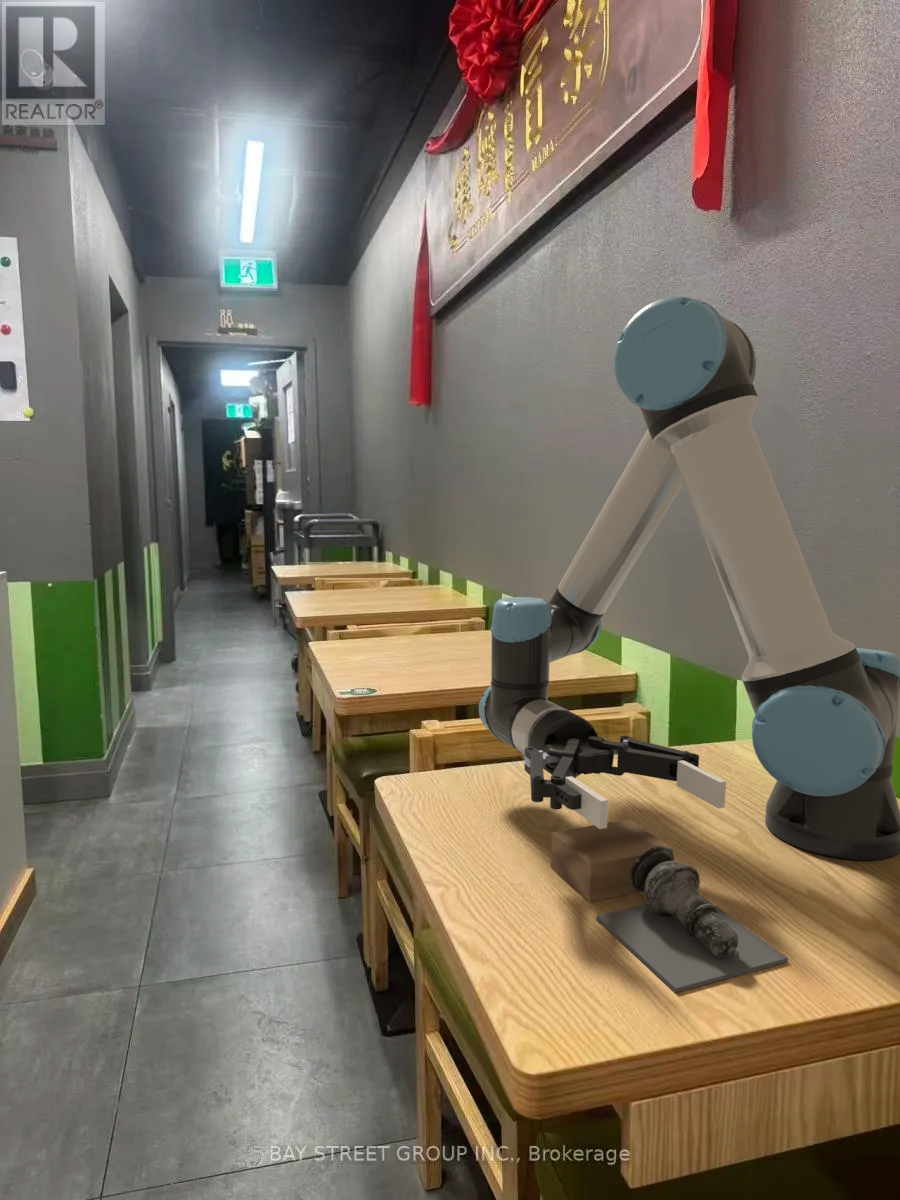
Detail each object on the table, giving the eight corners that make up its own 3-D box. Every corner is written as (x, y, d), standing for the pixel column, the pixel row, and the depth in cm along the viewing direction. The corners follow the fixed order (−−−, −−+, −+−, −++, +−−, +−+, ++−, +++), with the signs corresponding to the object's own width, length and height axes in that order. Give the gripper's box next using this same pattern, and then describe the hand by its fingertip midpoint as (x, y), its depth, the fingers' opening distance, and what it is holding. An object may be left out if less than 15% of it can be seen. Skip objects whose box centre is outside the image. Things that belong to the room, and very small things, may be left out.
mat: (697, 896, 80) (697, 893, 80) (787, 962, 69) (787, 957, 69) (596, 919, 76) (596, 915, 76) (675, 992, 65) (675, 988, 65)
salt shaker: (659, 833, 76) (749, 918, 66) (685, 860, 79) (774, 946, 69) (617, 877, 76) (700, 970, 65) (644, 902, 79) (728, 994, 69)
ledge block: (550, 866, 86) (551, 832, 86) (627, 852, 90) (629, 819, 89) (589, 902, 79) (590, 864, 78) (671, 884, 82) (673, 848, 82)
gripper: (641, 757, 99) (764, 822, 80) (459, 782, 90) (548, 863, 71) (643, 699, 98) (769, 751, 79) (459, 718, 89) (550, 783, 70)
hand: (665, 804), depth 75 cm, fingers open, 13 cm apart
